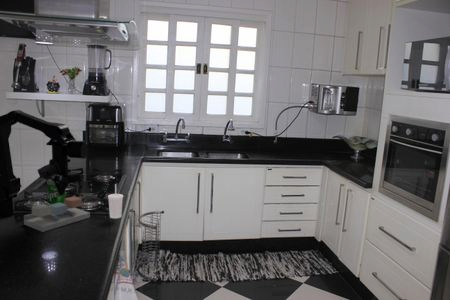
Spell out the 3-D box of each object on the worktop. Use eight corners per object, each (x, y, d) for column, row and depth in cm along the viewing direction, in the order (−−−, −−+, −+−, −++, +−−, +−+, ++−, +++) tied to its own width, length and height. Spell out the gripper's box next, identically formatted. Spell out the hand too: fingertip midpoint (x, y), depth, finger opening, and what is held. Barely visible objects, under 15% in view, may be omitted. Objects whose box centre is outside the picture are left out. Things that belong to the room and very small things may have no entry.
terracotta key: (64, 205, 163) (64, 198, 163) (74, 203, 167) (74, 196, 167) (71, 208, 161) (71, 201, 160) (81, 205, 165) (81, 198, 164)
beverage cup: (107, 219, 163) (107, 186, 161) (108, 214, 169) (108, 182, 166) (123, 218, 165) (123, 185, 162) (123, 213, 171) (123, 182, 168)
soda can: (44, 204, 177) (43, 178, 175) (61, 201, 182) (60, 176, 180) (52, 209, 172) (51, 182, 170) (68, 205, 177) (68, 179, 175)
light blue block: (48, 212, 157) (48, 205, 157) (59, 209, 161) (59, 202, 161) (56, 215, 155) (56, 207, 154) (67, 212, 159) (66, 204, 158)
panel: (24, 224, 153) (23, 215, 153) (71, 210, 171) (71, 203, 170) (42, 232, 147) (42, 222, 146) (89, 217, 164) (89, 209, 164)
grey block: (31, 214, 152) (31, 206, 151) (43, 211, 155) (43, 204, 155) (39, 217, 149) (39, 209, 148) (51, 214, 153) (50, 206, 152)
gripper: (26, 156, 154) (28, 195, 157) (55, 163, 144) (56, 205, 147) (53, 152, 163) (54, 189, 166) (82, 159, 153) (82, 198, 156)
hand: (61, 195), depth 158 cm, fingers closed
